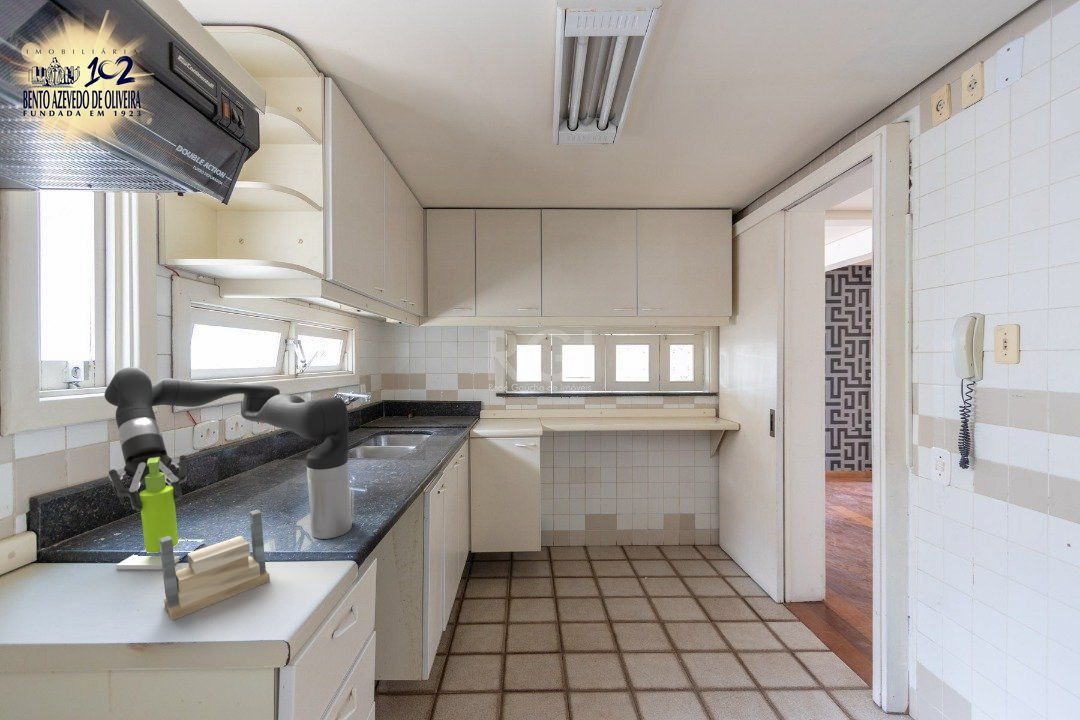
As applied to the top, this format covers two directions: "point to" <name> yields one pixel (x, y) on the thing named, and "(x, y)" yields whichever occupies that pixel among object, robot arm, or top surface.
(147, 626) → the top surface
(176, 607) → the offcut rack
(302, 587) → the top surface
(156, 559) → the pad
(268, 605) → the top surface
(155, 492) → the soap dispenser
